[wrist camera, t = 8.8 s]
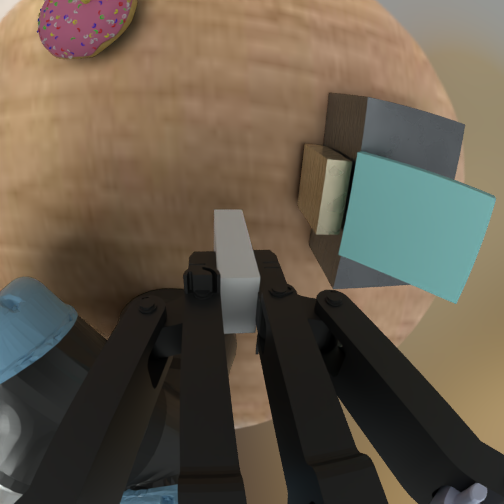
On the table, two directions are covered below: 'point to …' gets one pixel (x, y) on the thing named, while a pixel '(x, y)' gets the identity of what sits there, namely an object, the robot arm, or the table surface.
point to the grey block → (385, 145)
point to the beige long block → (324, 188)
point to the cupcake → (83, 25)
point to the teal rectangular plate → (414, 224)
